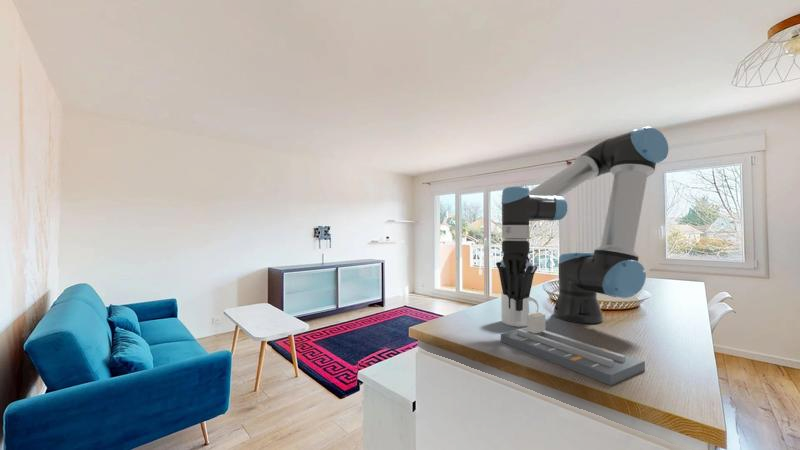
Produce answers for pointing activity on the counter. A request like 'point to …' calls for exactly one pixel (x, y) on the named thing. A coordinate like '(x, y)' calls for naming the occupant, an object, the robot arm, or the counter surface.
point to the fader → (536, 323)
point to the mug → (506, 311)
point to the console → (576, 355)
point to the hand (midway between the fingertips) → (515, 321)
